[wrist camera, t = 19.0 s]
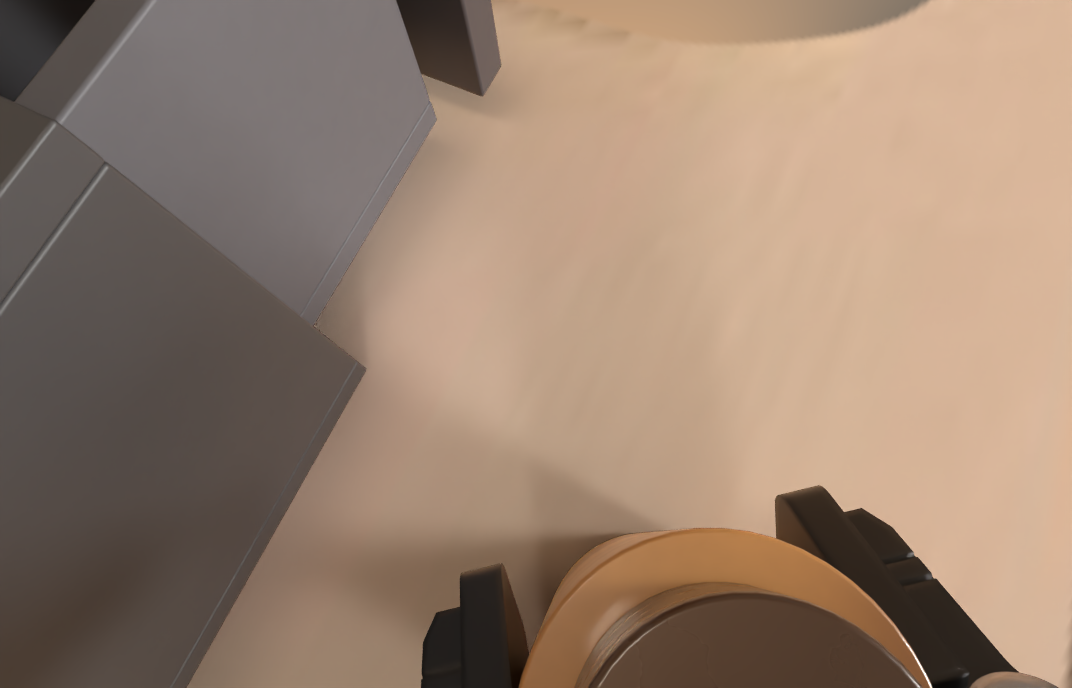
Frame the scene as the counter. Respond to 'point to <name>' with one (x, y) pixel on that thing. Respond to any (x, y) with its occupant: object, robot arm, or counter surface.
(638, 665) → the pepper mill
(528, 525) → the counter surface
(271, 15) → the drawer
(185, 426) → the small drawer unit
